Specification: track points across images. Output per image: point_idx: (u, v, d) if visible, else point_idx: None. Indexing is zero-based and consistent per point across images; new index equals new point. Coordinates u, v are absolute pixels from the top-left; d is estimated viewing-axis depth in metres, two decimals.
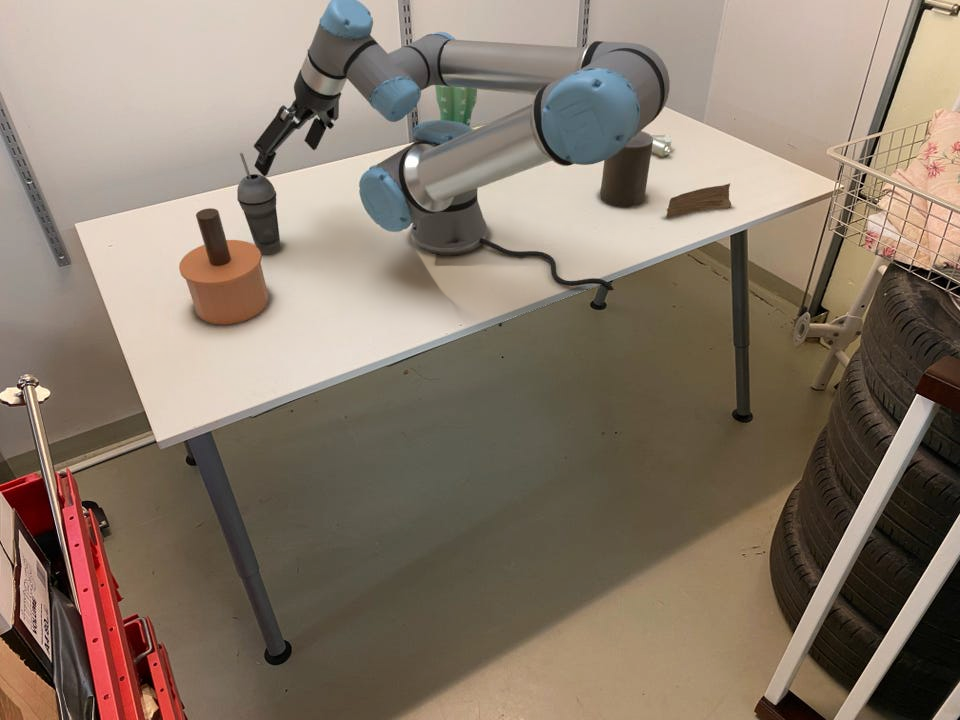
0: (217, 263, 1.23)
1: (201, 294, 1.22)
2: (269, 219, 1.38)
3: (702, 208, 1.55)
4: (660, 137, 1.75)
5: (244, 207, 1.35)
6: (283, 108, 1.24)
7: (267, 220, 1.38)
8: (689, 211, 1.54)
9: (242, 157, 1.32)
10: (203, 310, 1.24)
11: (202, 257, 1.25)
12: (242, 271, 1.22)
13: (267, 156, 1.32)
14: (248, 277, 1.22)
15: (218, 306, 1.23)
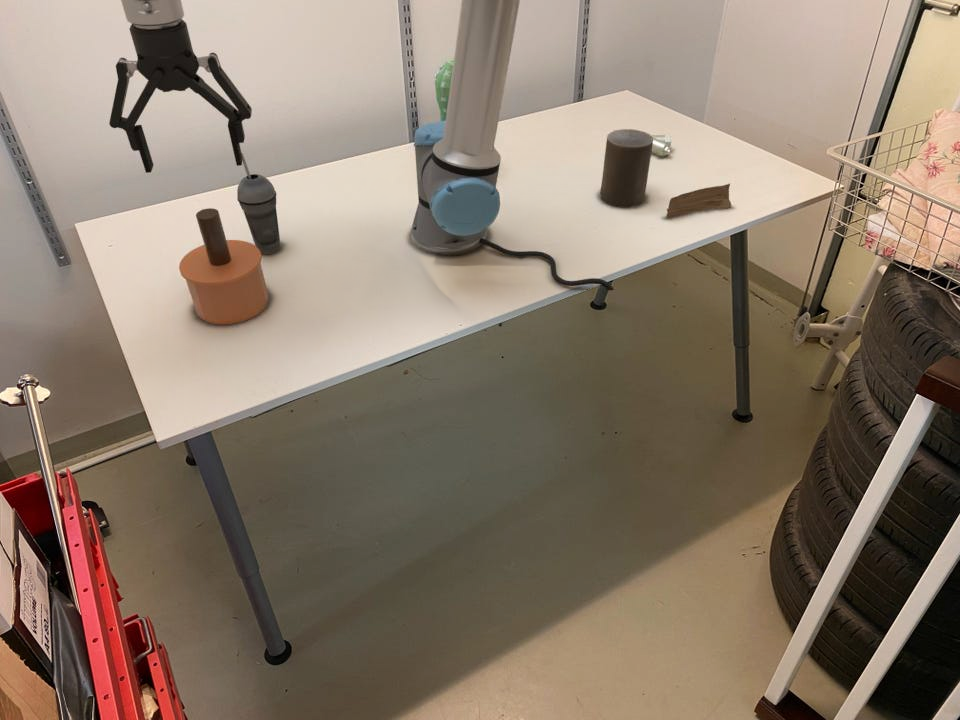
0: (217, 263, 1.23)
1: (201, 294, 1.22)
2: (269, 219, 1.38)
3: (702, 208, 1.55)
4: (660, 137, 1.75)
5: (244, 207, 1.35)
6: (213, 57, 1.04)
7: (267, 220, 1.38)
8: (689, 211, 1.54)
9: (242, 157, 1.32)
10: (203, 310, 1.24)
11: (202, 257, 1.25)
12: (242, 271, 1.22)
13: None
14: (248, 277, 1.22)
15: (218, 306, 1.23)
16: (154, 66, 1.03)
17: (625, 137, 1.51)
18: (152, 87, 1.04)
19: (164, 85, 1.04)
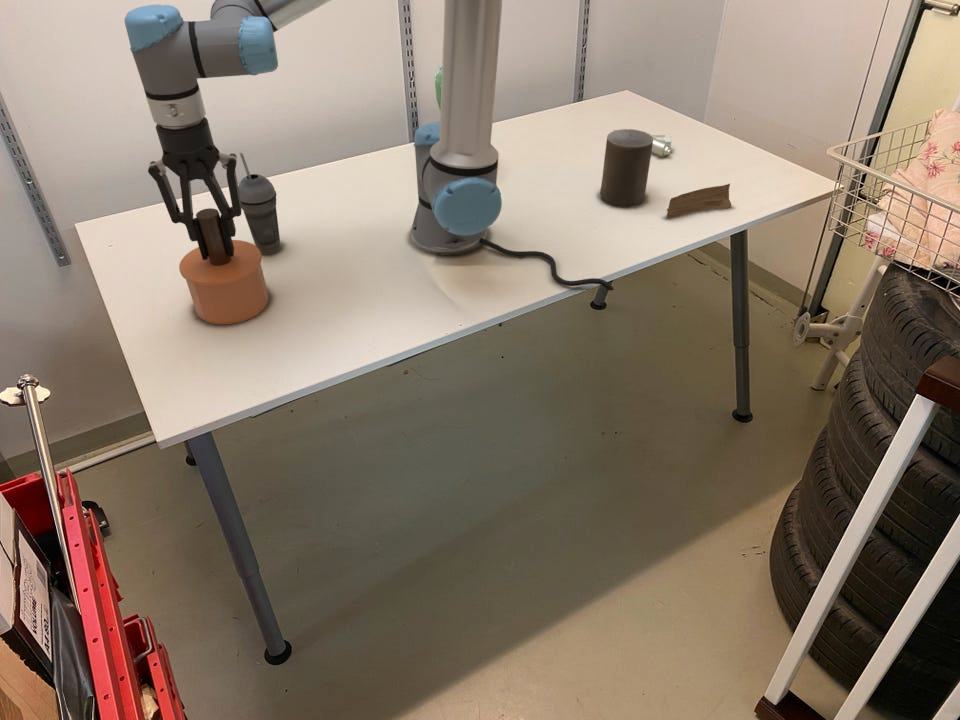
0: (217, 263, 1.23)
1: (201, 294, 1.22)
2: (269, 219, 1.38)
3: (702, 208, 1.55)
4: (660, 137, 1.75)
5: (244, 207, 1.35)
6: (235, 160, 1.13)
7: (267, 220, 1.38)
8: (689, 211, 1.54)
9: (242, 157, 1.32)
10: (203, 310, 1.24)
11: None
12: (242, 271, 1.22)
13: None
14: (248, 277, 1.22)
15: (218, 306, 1.23)
16: (175, 155, 1.10)
17: (625, 137, 1.51)
18: (185, 179, 1.12)
19: (188, 175, 1.13)
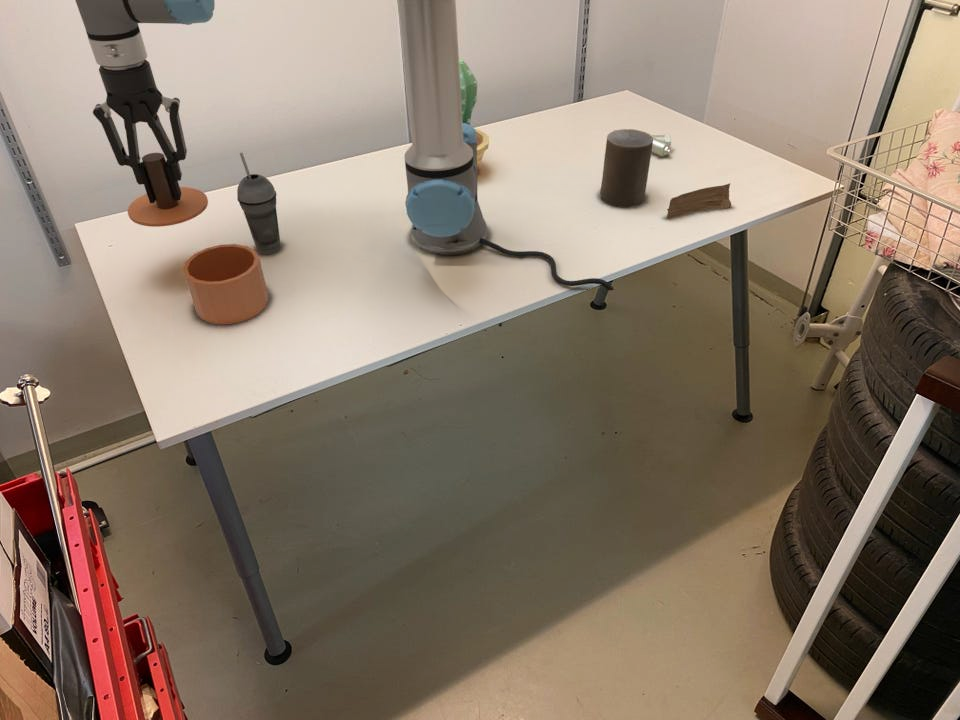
0: (164, 206, 1.27)
1: (201, 294, 1.22)
2: (269, 219, 1.38)
3: (702, 208, 1.55)
4: (660, 137, 1.75)
5: (244, 207, 1.35)
6: (177, 103, 1.18)
7: (267, 220, 1.38)
8: (689, 211, 1.54)
9: (242, 157, 1.32)
10: (203, 310, 1.24)
11: None
12: (188, 214, 1.26)
13: None
14: (248, 277, 1.22)
15: (218, 306, 1.23)
16: (119, 97, 1.15)
17: (625, 137, 1.51)
18: (129, 121, 1.17)
19: (132, 117, 1.18)
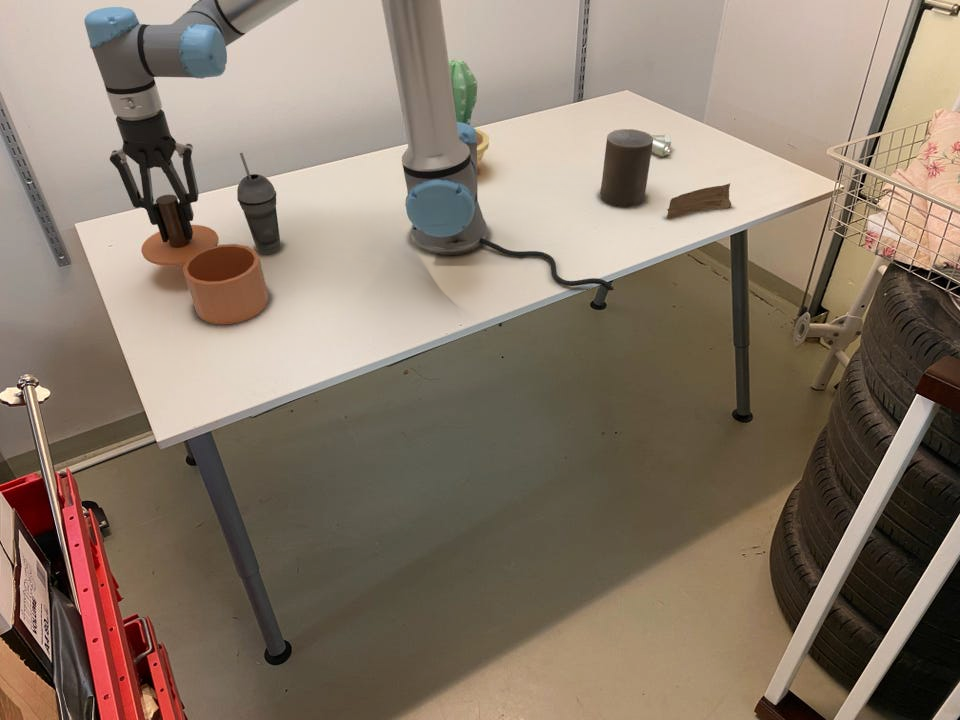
0: (176, 245, 1.33)
1: (201, 294, 1.22)
2: (269, 219, 1.38)
3: (702, 208, 1.55)
4: (660, 137, 1.75)
5: (244, 207, 1.35)
6: (190, 149, 1.23)
7: (267, 220, 1.38)
8: (689, 211, 1.54)
9: (242, 157, 1.32)
10: (203, 310, 1.24)
11: None
12: None
13: None
14: (248, 277, 1.22)
15: (218, 306, 1.23)
16: (134, 145, 1.20)
17: (625, 137, 1.51)
18: (144, 167, 1.22)
19: (147, 163, 1.23)
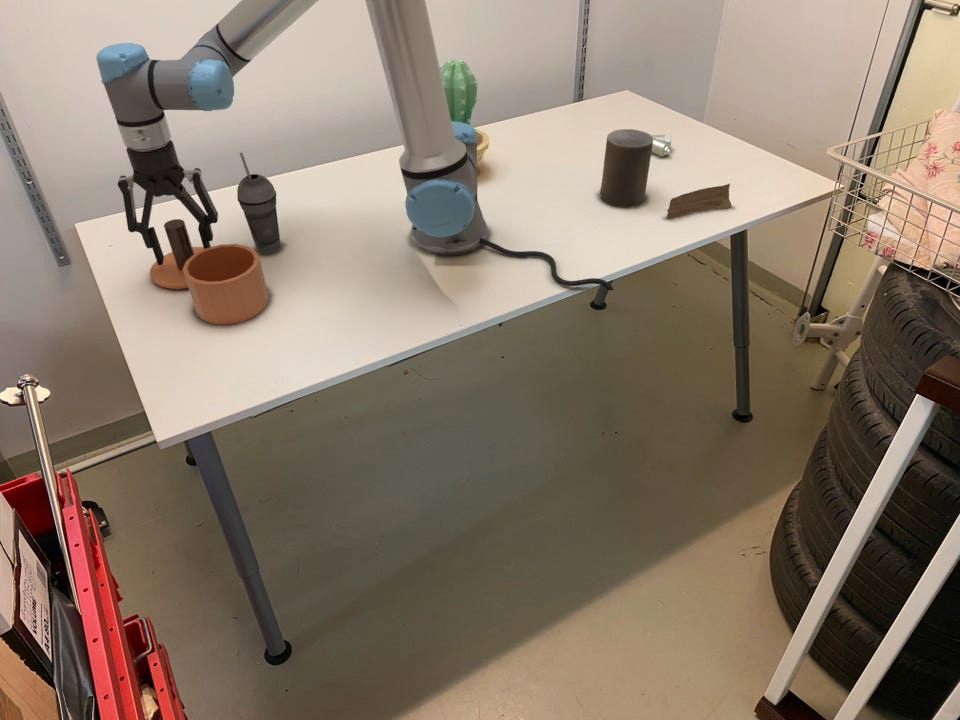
0: None
1: (201, 294, 1.22)
2: (269, 219, 1.38)
3: (702, 209, 1.55)
4: (660, 137, 1.75)
5: (244, 207, 1.35)
6: (198, 173, 1.26)
7: (267, 220, 1.38)
8: (689, 211, 1.54)
9: (242, 157, 1.32)
10: (203, 310, 1.24)
11: (171, 263, 1.38)
12: None
13: None
14: (248, 277, 1.22)
15: (218, 306, 1.23)
16: (146, 176, 1.24)
17: (625, 137, 1.51)
18: (150, 195, 1.26)
19: (156, 191, 1.26)
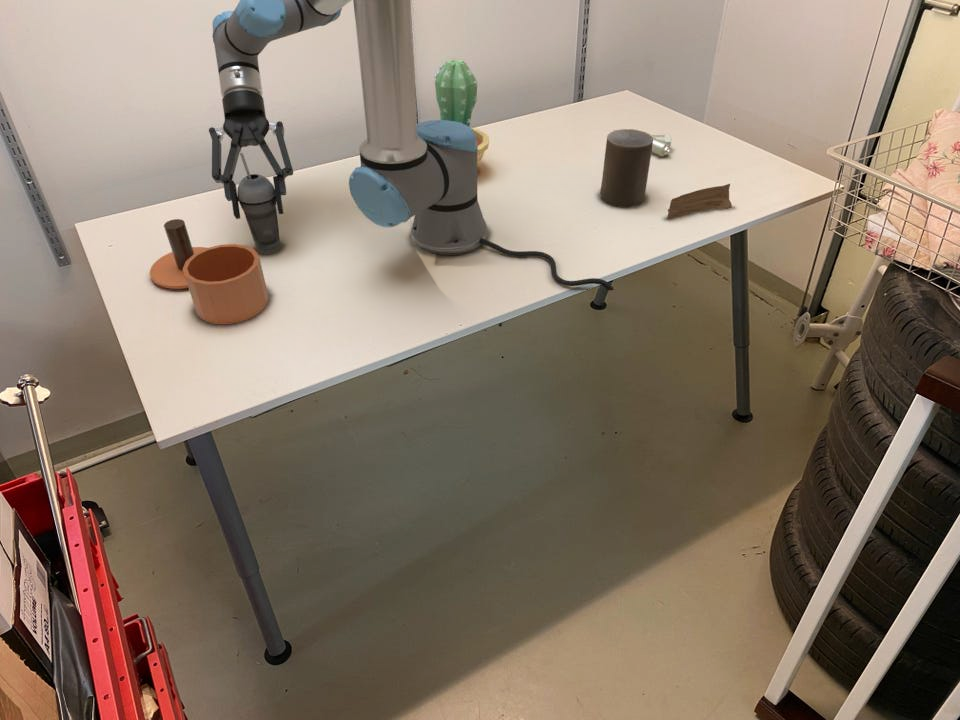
0: None
1: (201, 294, 1.22)
2: (269, 219, 1.38)
3: (702, 209, 1.55)
4: (660, 137, 1.75)
5: (244, 207, 1.35)
6: (281, 123, 1.37)
7: (267, 220, 1.38)
8: (690, 212, 1.54)
9: (242, 157, 1.32)
10: (203, 310, 1.24)
11: (171, 263, 1.38)
12: None
13: None
14: (248, 277, 1.22)
15: (218, 306, 1.23)
16: (235, 121, 1.35)
17: (625, 137, 1.51)
18: (236, 138, 1.35)
19: (242, 137, 1.35)
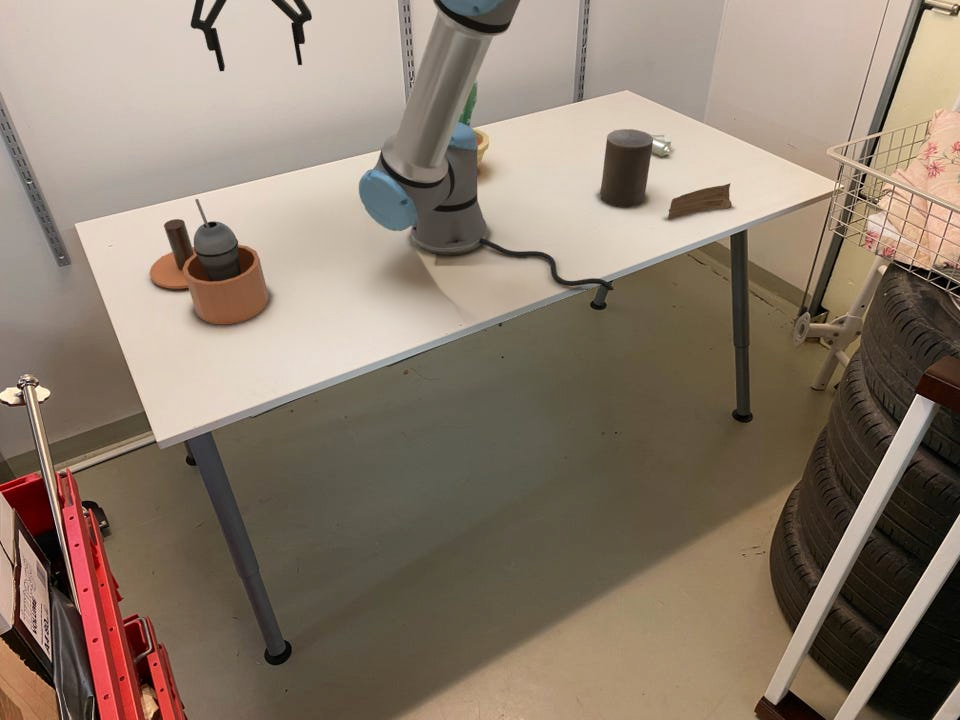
0: None
1: (201, 294, 1.22)
2: (230, 270, 1.23)
3: (703, 209, 1.55)
4: (659, 137, 1.75)
5: (201, 258, 1.21)
6: None
7: (228, 272, 1.23)
8: (690, 212, 1.54)
9: (198, 204, 1.17)
10: (203, 310, 1.24)
11: (171, 263, 1.38)
12: None
13: None
14: (248, 277, 1.22)
15: (218, 306, 1.23)
16: None
17: (625, 137, 1.51)
18: None
19: None
